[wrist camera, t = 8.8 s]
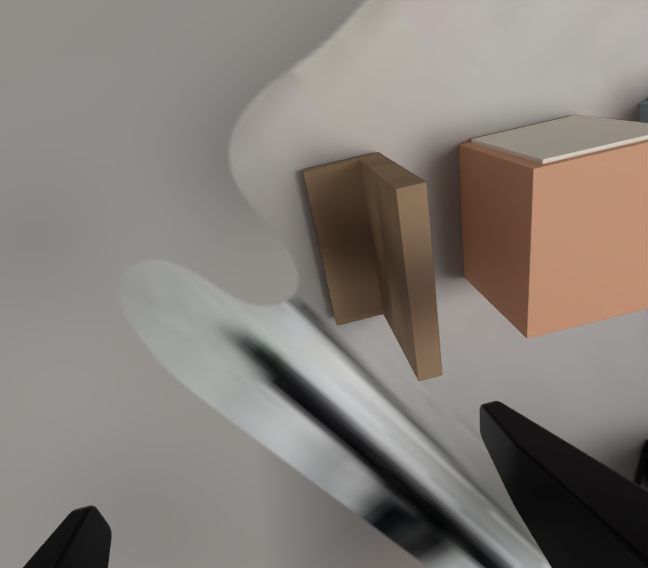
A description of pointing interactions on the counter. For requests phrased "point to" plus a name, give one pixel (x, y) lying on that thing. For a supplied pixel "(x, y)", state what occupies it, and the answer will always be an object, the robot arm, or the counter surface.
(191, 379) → the counter surface
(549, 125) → the rust book
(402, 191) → the bracket
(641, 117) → the light blue block
